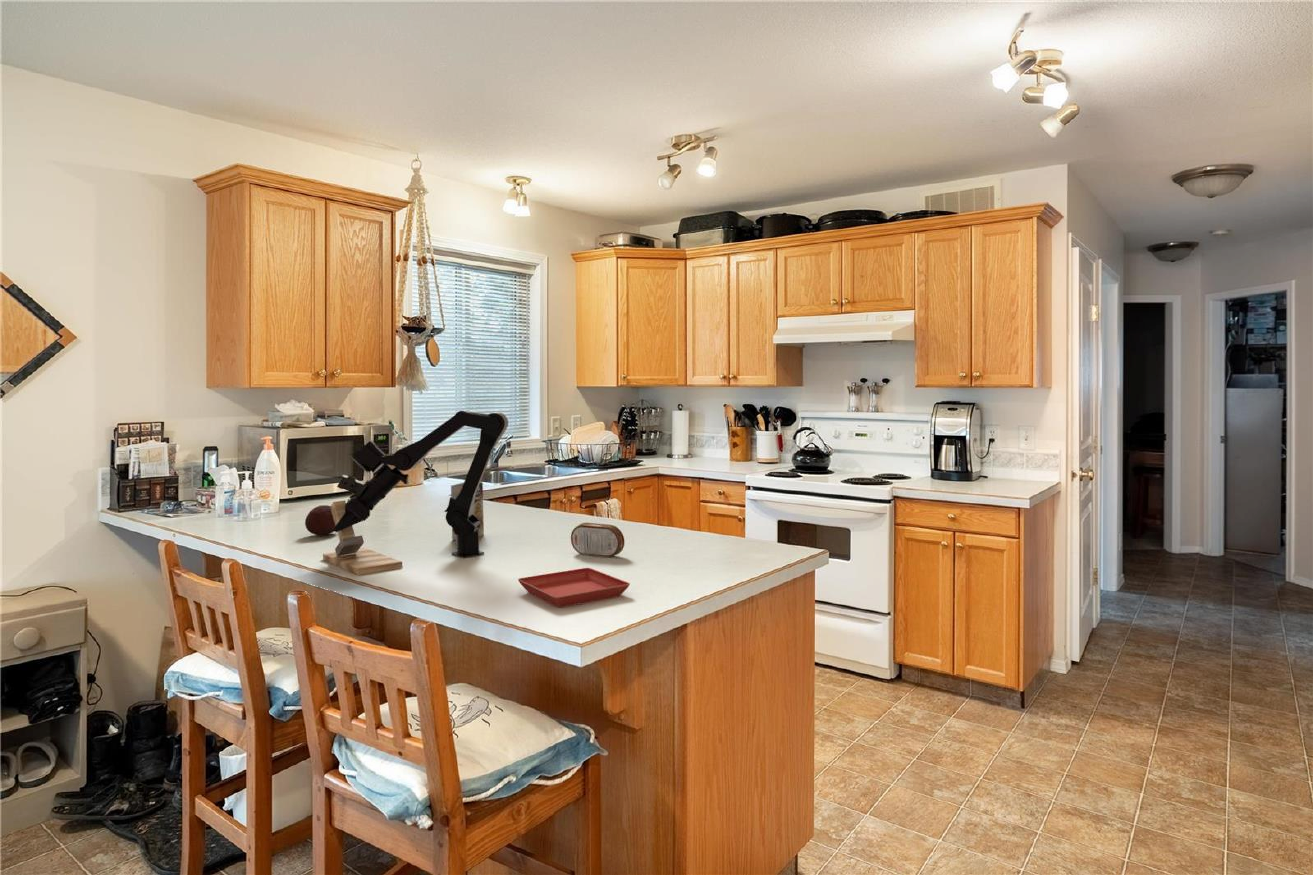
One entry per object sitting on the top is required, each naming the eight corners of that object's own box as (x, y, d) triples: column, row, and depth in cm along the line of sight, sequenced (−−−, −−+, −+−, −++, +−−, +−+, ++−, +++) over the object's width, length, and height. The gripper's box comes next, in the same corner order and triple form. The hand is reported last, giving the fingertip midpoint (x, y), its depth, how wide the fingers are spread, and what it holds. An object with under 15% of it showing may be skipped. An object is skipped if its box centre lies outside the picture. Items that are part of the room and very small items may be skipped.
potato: (349, 532, 243) (348, 503, 242) (318, 540, 232) (317, 508, 231) (327, 531, 246) (326, 501, 245) (297, 538, 235) (295, 507, 234)
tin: (625, 556, 204) (624, 524, 203) (619, 559, 201) (619, 526, 200) (575, 552, 210) (574, 521, 210) (569, 554, 207) (568, 523, 207)
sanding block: (364, 542, 200) (351, 496, 204) (344, 546, 196) (331, 499, 200) (356, 552, 205) (343, 507, 209) (336, 556, 201) (324, 510, 205)
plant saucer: (632, 598, 165) (631, 582, 165) (555, 613, 155) (555, 596, 155) (588, 581, 180) (588, 567, 180) (516, 593, 170) (516, 578, 169)
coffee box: (472, 540, 227) (470, 485, 226) (451, 540, 229) (449, 485, 228) (485, 534, 236) (483, 481, 235) (465, 534, 238) (463, 481, 237)
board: (402, 567, 194) (402, 561, 194) (358, 575, 187) (357, 568, 187) (364, 553, 212) (364, 547, 212) (323, 559, 205) (322, 553, 205)
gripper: (358, 461, 212) (315, 503, 209) (354, 466, 195) (307, 512, 192) (389, 489, 215) (347, 531, 212) (388, 497, 197) (342, 543, 194)
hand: (335, 529), depth 203 cm, fingers closed on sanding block, 6 cm apart
